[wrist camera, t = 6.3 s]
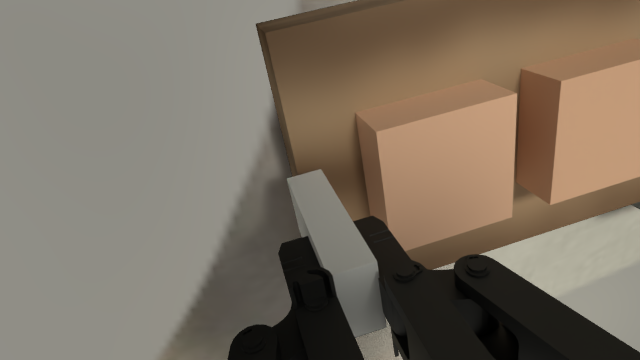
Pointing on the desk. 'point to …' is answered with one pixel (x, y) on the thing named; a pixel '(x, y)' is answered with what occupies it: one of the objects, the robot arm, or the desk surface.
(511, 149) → the tile
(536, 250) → the desk surface
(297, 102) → the wooden plank
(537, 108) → the tile
